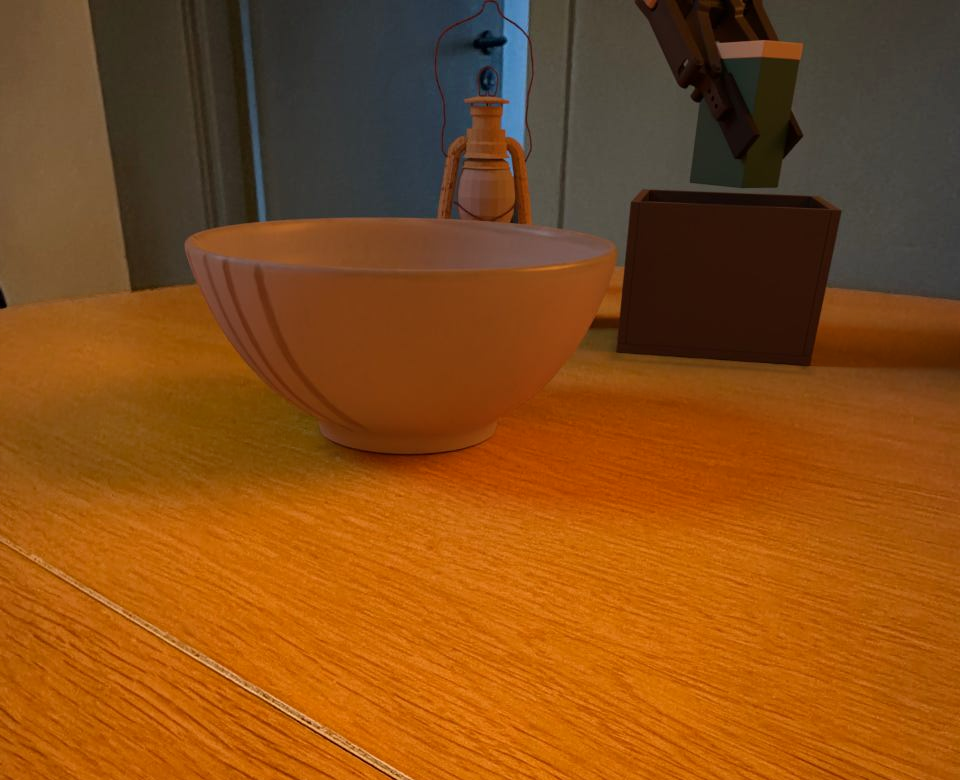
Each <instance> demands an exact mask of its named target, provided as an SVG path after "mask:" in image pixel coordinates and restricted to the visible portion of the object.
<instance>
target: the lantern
mask: <svg viewBox="0 0 960 780" xmlns="http://www.w3.org/2000/svg"><path fill="white" fill-rule="evenodd" d="M487 3H494V4H495V5H496V9H497V12H498V14H499V15H500V16H501V18H503V19H504V20H506V21H507V22H509V23H510V24H512V25H514V26H515V27H516V28H517V29H519V30H520V31H521V32H522V34H523V35H524V36H525V37H526V38H527V40H528V43H529V50H530V59H531V78H530V83H529V87H528V91H527V94H526V109H525V118H524V119H525V120H524V122H525V126H526V129H527V132H528V137H529V145H530V147H529V151H528V154H527V155H526V156H525V151H524V148H523V147H522V145H521V143H520V142H519V141H518V140H516V139H515V138H514V137H511V136H506V132H507V131H506V129H505V128H501V117H503V115H504V105H509V104H510V100H508V99H505V98H502V97H498V96H497V92H498V89H499V88H498V87H499V74H498V72H497V70H495V68H493V67H492V66H491V65H486V66H484V67H483V68H482V69H481V70H480V71H479V73H478V75H477V85H478V87H477V88H478V96H475V97H469V98H465V99H463V102H464V103H465V104H470V107H469V110H470V111H469V112H470V113H469V115H470V116H472V128H471V127H468V128H466V135H461V136H458V137H457V138H455V139H454V140H453V141H452V142H451V143H450V145H449V147H448V150H447V153H445V151H444V133H445V127H446V121H447V119H446V101H445V98H444V95H443V92H442V89H441V85H440V82H439V78H438V72H437V58H438V50H439V44H440V41H441V39H442V37H443V36H444V35H445V34H446V33H447V32H448V31H450V30H451V29H453V28H455V27H456V26H459V25H461V24H463V23H466V22H468V21H471V20H473V19H474V18H477V17H478V16H479V15H481V14H483V11H484V10H485V7H486V6H485V5H486V4H487ZM433 66H434V77H435V81H436V85H437V88H438V91H439V94H440V97H441V100H442V106H443V107H442V108H443V110H442V111H443V113H442V114H443V126H442V129H441V137H440V140H441V141H440V145H441V147H440V149H441V152H442V154H443V156H444V157H445V158H446V159H445V164H444V171H443V177H442V183H441V189H440V195H439V202H438V209H437V216H436V217H437V218H436V219H452V211H453V204H454V205H456V209H457V215H458V218H459V220H475V221H490V222H503V223H511V220H512V218H513V216H514V211H515V207H516V208H517V221H518V224H525V225H533V220H532V207H531V197H530V189H529V181H528V180H529V179H528V170H527V163H526V162H528V159H529V157H530V155H531V152H532V151H533V142H532V141H533V140H532V135H531V130H530V128H529V123H528V112H529V111H528V109H529V101H530V92H531V89H532V85H533V80H534V75H535V74H534V55H533V44H532V41H531V38H530V37H529V35H528V34H527V32H525V30H524V29H523V28H522V27H520V25H519V24H517V23H516V22H514V21H513V20H511V19H509V18H508V17H506V16H505V15H504V14H503V13H502V12H501V9H500V6H499V2H498V1H496V0H484V1H483V3H482V7H481V9H480V10H479V11H478V12H477V13H476V14H473V15H471V17H467V18H465V19H462V20H460V21H458V22H456V23H454V24H452V25H451V26H448V27H447V28H445V30H444V31H443V32H442V33H441V34H440V35H439V37H438V39H437V41H436V46H435V52H434V65H433ZM486 69H491V70H492V71H493V73H495V75H496V85H495V92H494V95H493V94H490V90H485V94H481V85H480V77H481V75H482V73H483V72H484V71H485V70H486ZM474 104H486V105H474ZM492 104H494V105H495V104H497V105H500V106H496V105H495V106H494V105H492ZM508 153H509V154H508ZM461 158H466V159H465V160H463V161H462V165H461V166H460V163H461ZM507 159H510V160H511V165H512V166H511V167H510V161H507ZM459 168H462V169H461V172H460V174H459ZM511 168H512V170H511ZM458 174H459V177H458ZM456 186H457V188H456ZM455 191H456V195H455ZM455 196H456V197H455ZM454 198H456V200H454Z"/></svg>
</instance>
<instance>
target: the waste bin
mask: <svg viewBox="0 0 960 780" xmlns="http://www.w3.org/2000/svg"><path fill="white" fill-rule="evenodd" d="M629 206H630V207H629V217H628V227H627V236H626V246H625V257H624V258H625V259H624V267H623V277H622V288H621V297H620V298H621V299H620V309H619V310H620V311H619V320H618V329H617V330H618V331H617V339H616V349H615V351H616V353H624V354H627V353H628V354H640V355H651V356H652V355H653V356H666V357H667V356H668V357H679V358H681V357H682V358H695V359H712V360H723V361H724V360H725V361H737V362H738V361H739V362H753V363H769V364H781V365H794V366H795V365H796V366H809V367H810V366H811V363H812V358H813V357H812V356H813V354H814V348H815V343H816V339H817V333H818V330H819V324H820V319H821V314H822V311H823V310H822V309H823V305H824V300H825V296H826V290H827V286H828V280H829V275H830V271H831V266H832V260H833V255H834V250H835V246H836V241H837V235H838V232H839V226H840V223H841V222H840V221H841V216H842V212H843V210H841V209H840V208H838V207H837V206H835V205H834V204H832V203H830V202H829V201H827V200H826V199H824V198H822V197H821V196H819V195H808V194H807V195H804V194H803V195H801V194H799V195H798V194H782V193H781V194H780V193H779V194H777V193H755V192H754V193H753V192H752V193H751V192H750V193H749V192H729V191H728V192H727V191H725V192H724V191H703V190H702V191H701V190H675V189H652V188H651V189H650V188H649V189H648V188H642V189H641V190H640V191H639V192H638V194H637V195H635V197H634V198H633V199H632V200H631V201H630V205H629Z"/></svg>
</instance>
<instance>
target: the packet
mask: <svg viewBox="0 0 960 780" xmlns="http://www.w3.org/2000/svg"><path fill="white" fill-rule="evenodd" d="M716 46H717V50H718V54H719V58H720V62H721V65H722V72H721V74H720V77H721V78H722V77H723V75H724V74H725V72H726V73H732V75H733V77H734V79H735V81H736V83H737V85H738V87H739V90H740V92H741V94H742V96H743V98H744V100H745V103H746V105H747V107H748V109H749V111H750V113H751V115H752V117H753V119H754V122H755V124H756V126H757V128H758V130H759V132H760V137H759V138H758V139H757V140H756V141H755V143H754V144H753V145H752V146H751V148H750V149H749V150H748V151H747V152H746V153H745V155H744V156H743V157H742V158H741V159H734V156H733V154H732V152H731V150H730V148H729V145H728V143H727V141H726V139H725V137H724V134H723V132H722V130H721V128H720V126H719V123H718V121H716V119H715V118H714V117H713V115H712V113H711V110H710V109H709V106H708V105H707V102H706V100H705V98H703V99H702V100H701V102H699V103H698V112H697V121H696V127H695V136H694V145H693V151H692V159H691V167H690V175H689V184H697V185H705V186H706V185H708V186H716V187H717V186H718V187H727V188H735V189H776V188H779V183H780V179H781V178H780V176H781V170H782V167H783V166H782V165H783V160H784V159H783V154H784V149H785V143H786V137H787V131H788V125H789V120H790V114H791V110H792V108H793V102H794V95H795V91H796V83H797V79H798V72H799V67H800V61H801V59H802V53H803V47H804V43H802V42H791V41H780V40H779V41H768V40H760V41H745V42H730V43H720V42H716Z"/></svg>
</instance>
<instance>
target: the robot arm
mask: <svg viewBox="0 0 960 780" xmlns="http://www.w3.org/2000/svg"><path fill="white" fill-rule="evenodd" d="M634 3H635V5H636V7H637V8H638V9H639V10H640V12H641V13H642V15H643V16H644V17H645V19H647V21H648V23H649V25H650V27H651V30H652V31H653V33H654V36H655V39H656V40H657V43H658V45H659V47H660V49H661V51H662V53H663V56H664V58H665V60H666V62H667V64H668V67H669V69H670V71H671V73H672V75H673V77H674V79H675V81H676V84H677V85H678V86H679V87H680V88H681V89H683V90H687V89H688V88H689V86H690V87H694V90H692V92H691V94H690V95H689V97H690V99H691V100H692V101H693V102H694V103H698V104H700V102H701V100H702V99H703V98H705V100H706V102H707V105H708V106H709V109H710V110H711V113H712V115H713V117H714V118H715V119H716V121H718V123H719V126H720V128H721V130H722V132H723V134H724V137H725V139H726V141H727V143H728V145H729V148H730V150H731V152H732V154H733V156H734V159H741V158H742V157H743V156H744V155H745V153H746V152H747V151H748V150H749V149H750V148H751V146H752V145H753V144H754V143H755V141H756V140H757V139H758V138H759V137H760V132H759V130H758V128H757V126H756V124H755V122H754V119H753V117H752V115H751V113H750V111H749V109H748V107H747V105H746V103H745V100H744V98H743V96H742V94H741V92H740V90H739V87H738V85H737V83H736V81H735V79H734V77H733V75H732V73H726V72H725V74H724V75H723V77H722V78H721V77H720V74H721V72H722V65H721V62H720V58H719V54H718V50H717V46H716V43H717V42H718V43H730V42H745V41H760V40H768V41H780V39H779V37H778V35H777V33H776V31H775V28H774V26H773V25H772V22H771V20H770V18H769V16H768V14H767V11H766V9H765V7H764V2H763V0H634ZM686 61H687V63H686ZM685 63H686V64H685ZM802 131H803V130H802V129H801V127H800V125H799V122H798V121H797V119H796V116H795V115H794V112H793V110H792V109H791V114H790V120H789V125H788V131H787V137H786V143H785V149H784V154H783V160H785V158H786V157H787V156H788V155H789V154H790V153H791V151H792V150H793V149H794V148H795V147H796V146H797V145H798V143H799V142H800V141H801V140H802V138H803V137H804V133H803V132H802Z"/></svg>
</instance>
